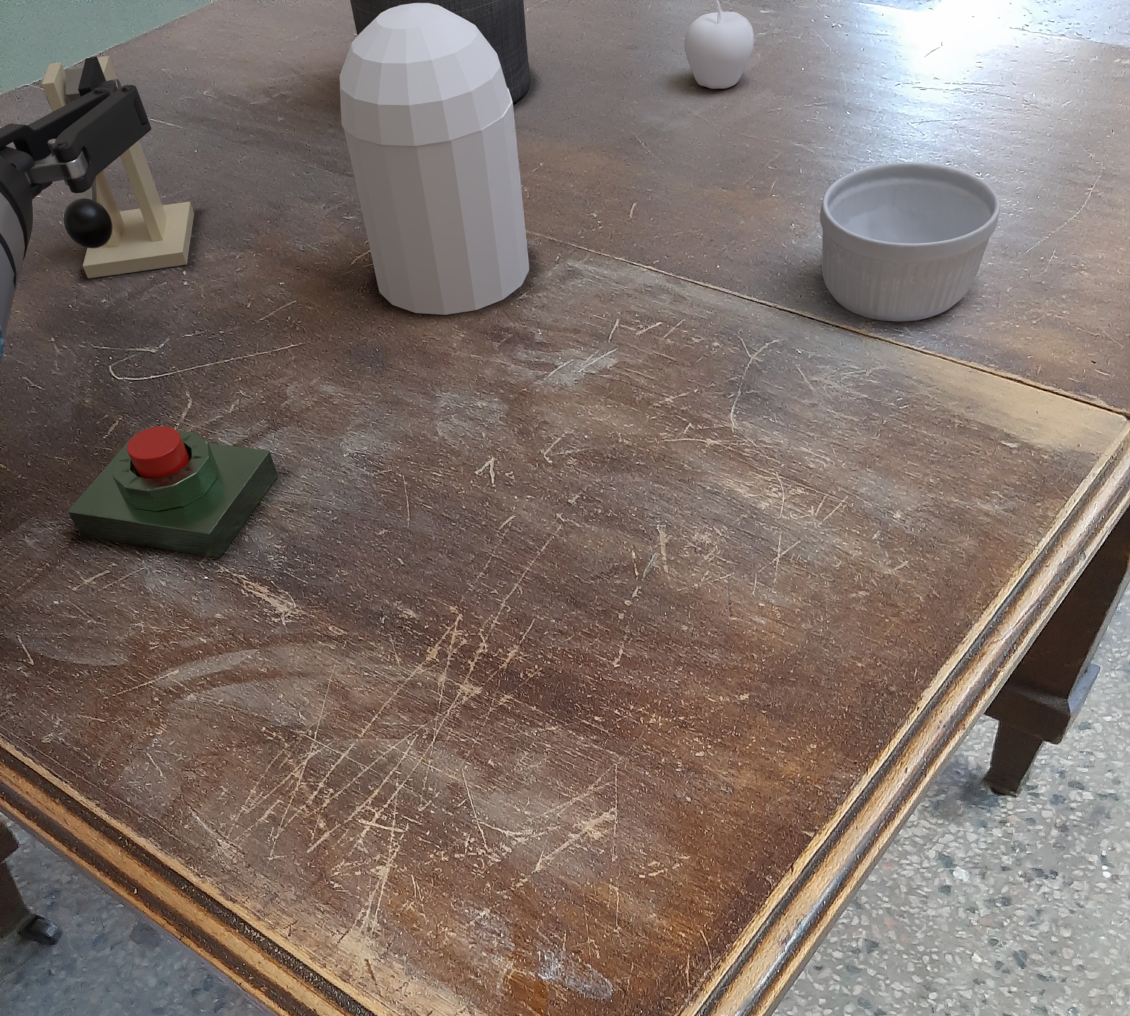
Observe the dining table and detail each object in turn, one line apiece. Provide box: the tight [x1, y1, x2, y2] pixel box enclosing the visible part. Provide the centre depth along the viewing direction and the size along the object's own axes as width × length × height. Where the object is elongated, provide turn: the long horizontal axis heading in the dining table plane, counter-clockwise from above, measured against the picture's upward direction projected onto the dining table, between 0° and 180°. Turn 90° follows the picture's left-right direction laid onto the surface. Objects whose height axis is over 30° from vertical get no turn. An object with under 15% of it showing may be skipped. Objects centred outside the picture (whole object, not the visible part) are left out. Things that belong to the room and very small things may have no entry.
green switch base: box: [67, 429, 279, 559], centre depth 75 cm, size 11×9×4 cm
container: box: [339, 3, 530, 316], centre depth 86 cm, size 14×13×20 cm
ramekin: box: [819, 161, 1001, 323], centre depth 85 cm, size 13×13×7 cm
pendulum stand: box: [41, 55, 195, 279], centre depth 95 cm, size 10×9×15 cm
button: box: [127, 425, 189, 479], centre depth 73 cm, size 4×4×2 cm
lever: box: [63, 67, 113, 249], centre depth 89 cm, size 17×4×4 cm, turn 8°
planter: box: [349, 0, 532, 104], centre depth 112 cm, size 18×18×16 cm
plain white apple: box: [684, 0, 755, 90], centre depth 111 cm, size 7×7×8 cm
